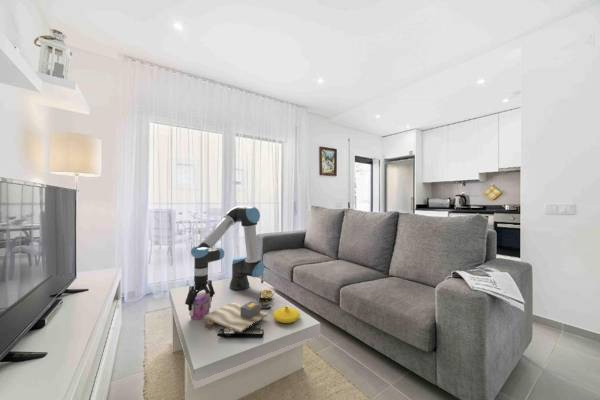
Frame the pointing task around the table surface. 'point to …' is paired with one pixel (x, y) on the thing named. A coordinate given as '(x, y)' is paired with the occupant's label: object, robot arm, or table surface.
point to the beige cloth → (231, 318)
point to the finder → (250, 310)
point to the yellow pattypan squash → (286, 315)
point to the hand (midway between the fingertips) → (200, 311)
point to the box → (201, 305)
